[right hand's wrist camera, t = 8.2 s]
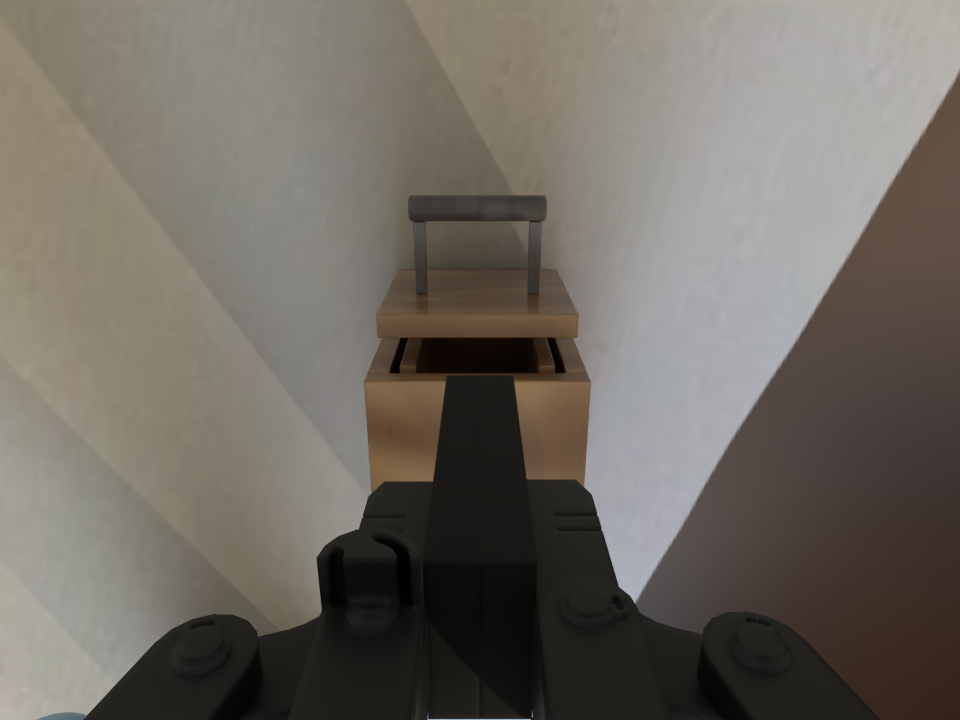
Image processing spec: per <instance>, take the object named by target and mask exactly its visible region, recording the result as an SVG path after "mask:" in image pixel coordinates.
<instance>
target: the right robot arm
mask: <svg viewBox="0 0 960 720" xmlns="http://www.w3.org/2000/svg"><path fill="white" fill-rule="evenodd" d="M317 567H318V576H319V586H320V595H321V605H322V612H321V615H320V616H319V617H317V618H315V619H313V620H311V621H309V622H308V623H306V624H304V625H301V626H298V627H295V628H292V629H289V630H285V631H281V632H277V633H272V634H268V635H264V636H260V637H258V636H257V631H256V630H255V629H254V628H253V626H252V625H251V624H250V623H249V621H247V620H245V619H242V618H240V617H237V616H235V615H221V614H213V615H208V616H204V617H200V618H195V619H192V620H190V621H188V622H186V623H183V624H181V625H179V626H177V627H175V628H173V629H171V630H170V631H169V632H168V633H167V634H165V635H164V636H163V637H162V638H160V639H159V640H158V641H157V642H155V643H154V645H153V646H152V647H151V648H150V649H149V650H148V651H147V652H146V653H145V654H144V655H143V656H142V657H141V658H140V659H139V661H138V662H137V663H136V664H135V665H134V666H133V667H132V668H131V669H130V670H129V671H128V672H127V673H126V674H125V676H124V677H123V678H122V679H121V680H120V681H119V682H118V683H117V684H116V685H115V686H114V687H113V688H112V689H111V690H110V692H109V693H108V694H107V695H106V696H105V697H104V698H103V699H102V700H101V701H100V702H99V703H98V704H97V705H96V707H95V708H94V709H93V710H92V711H91V712H90V713H89V714H88V715H87V716H86V717H85V718H84V719H83V720H427V716H428V719H532V713H533V720H880V719H879V718H878V716H877V715H876V714H875V713H874V712H873V711H872V710H871V709H870V708H869V707H868V706H867V705H866V704H865V703H864V702H863V701H862V699H861V698H860V697H859V696H858V695H857V694H856V693H855V692H854V691H853V690H852V689H851V688H850V687H849V686H848V685H847V684H846V683H845V681H844V680H843V679H842V678H841V677H840V676H839V675H838V674H837V673H836V672H835V671H834V670H833V669H832V668H831V667H830V665H829V664H828V663H827V662H826V661H825V660H824V659H823V658H822V657H821V656H820V655H819V654H818V653H817V652H816V651H815V650H814V648H813V647H812V646H811V645H810V644H809V643H808V642H807V641H806V640H805V639H804V638H802V637H801V636H800V635H799V634H797V633H796V632H795V631H794V630H792V629H791V628H790V627H789V626H787V625H785V624H783V623H781V622H779V621H776V620H774V619H772V618H770V617H768V616H764V615H759V614H755V613H751V612H727V613H724V614H722V615H719V616H717V617H714V618H712V619H711V621H710V622H709V623H708V624H707V625H706V627H705V628H704V629H703V635H702V634H698V633H694V632H690V631H686V630H682V629H678V628H674V627H670V626H667V625H664V624H661V623H658V622H656V621H654V620H652V619H650V618H648V617H646V616H644V615H642V614H641V613H640V612H639V611H638V608H637V607H636V605H635V603H634V602H633V600H632V598H631V597H630V596H629V595H628V594H627V593H626V592H624V591H623V590H622V589H620V588H619V586H618V583H617V579H616V576H615V572H614V569H613V566H612V562H611V559H610V555H609V552H608V548H607V545H606V542H605V538H604V535H603V531H601V525H600V521H599V518H598V516H597V511H596V508H595V504H594V501H593V497H592V495H591V494H590V493H589V492H588V491H587V490H586V489H585V488H584V487H583V486H582V485H581V484H580V483H579V482H578V481H577V480H576V479H527V478H526V470H525V462H524V454H523V446H522V439H521V431H520V423H519V415H518V407H517V400H516V392H515V384H514V376H513V375H447V376H446V384H445V392H444V400H443V407H442V415H441V423H440V431H439V439H438V446H437V454H436V462H435V470H434V478H433V481H384V482H383V483H382V484H381V485H380V486H379V487H378V488H377V489H376V490H375V491H374V492H373V493H372V494H371V495H370V496H369V497H368V500H367V503H366V507H365V510H364V514H363V518H362V521H361V524H360V527H359V530H355V531H352V532H349V533H346V534H343V535H341V536H338V537H337V538H335V539H334V540H333V541H331V542H330V543H328V544H327V545H325V546H324V548H323V549H322V551H321V552H320V554H319V555H318V557H317Z"/></svg>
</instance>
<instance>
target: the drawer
mask: <svg viewBox="0 0 960 720" xmlns="http://www.w3.org/2000/svg"><path fill="white" fill-rule="evenodd" d="M546 213H547V200H546V196H409V199H408V214H409V219H410V221H414V223H413V226H414V254H415V270H399V271H398V273H397V275H396V277H395V279H394V281H393V283H392V285H391V287H390V289H389V291H388V293H387V295H386V297H385V299H384V301H383V303H382V305H381V307H380V309H379V311H378V313H377V315H376V319H377V336H378V338H409V339H408V342H407V345H406V348H405V352H404V355H403V358H402V361H401V364H400V373H555V364H554V361H553V358H552V354H551V351H550V348H549V344H548V341H547V338H577V335H578V317H579V315H578V313H577V311H576V309H575V307H574V304H573V302H572V300H571V298H570V296H569V294H568V292H567V290H566V288H565V286H564V284H563V282H562V280H561V278H560V276H559V274H558V272H557V270H540V258H541V228H542V222H541V221H545V219H546ZM426 221H529V245H528V270H427V243H426Z"/></svg>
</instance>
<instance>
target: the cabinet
mask: <svg viewBox="0 0 960 720" xmlns="http://www.w3.org/2000/svg"><path fill="white" fill-rule="evenodd" d="M408 339H409V338H382V340H381V343H380V345H379V347H378V350H377V352H376V355H375V357H374V359H373V362H372V364H371V366H370V369H369V371H368V374H367V376H366V379H365V381H364V387H365V402H366V416H367V431H368V446H369V461H370V475H371V490H372V493H373V492H374V491H375V490H376V489H377V488H378V487H379V486H380V485H381V484H382V483H383V482H384V481H433V478H434V470H435V462H436V454H437V446H438V439H439V431H440V423H441V415H442V407H443V400H444V392H445V384H446V376H447V375H513V376H514V384H515V392H516V400H517V407H518V415H519V423H520V431H521V439H522V446H523V454H524V462H525V470H526V478H527V479H576V480H577V481H578V482H579V483H580V484H581V485H582V486H583V487H584V479H585V464H586V449H587V433H588V418H589V403H590V387H591V381H590V379H589V376H588V374H587V371H586V369H585V366H584V364H583V361H582V359H581V357H580V354H579V352H578V349H577V347H576V345H575V342H574V340H573V338H547V341H548V344H549V348H550V351H551V354H552V358H553V361H554V364H555V373H400V364H401V361H402V358H403V355H404V352H405V348H406V345H407V342H408Z"/></svg>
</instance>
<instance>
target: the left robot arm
mask: <svg viewBox="0 0 960 720" xmlns="http://www.w3.org/2000/svg"><path fill="white" fill-rule="evenodd" d="M86 716H87V715H84V714H80V713H71V712H67V713H58V714H52V715H49V716H45V717H42V718H39V719H37V720H83V719H84V718H85V717H86ZM531 720H533V717H532V719H531Z"/></svg>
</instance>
